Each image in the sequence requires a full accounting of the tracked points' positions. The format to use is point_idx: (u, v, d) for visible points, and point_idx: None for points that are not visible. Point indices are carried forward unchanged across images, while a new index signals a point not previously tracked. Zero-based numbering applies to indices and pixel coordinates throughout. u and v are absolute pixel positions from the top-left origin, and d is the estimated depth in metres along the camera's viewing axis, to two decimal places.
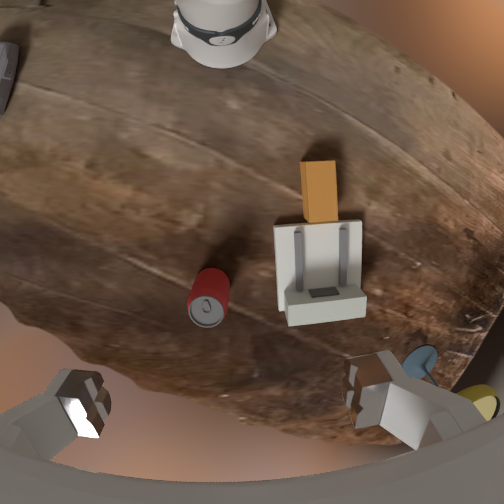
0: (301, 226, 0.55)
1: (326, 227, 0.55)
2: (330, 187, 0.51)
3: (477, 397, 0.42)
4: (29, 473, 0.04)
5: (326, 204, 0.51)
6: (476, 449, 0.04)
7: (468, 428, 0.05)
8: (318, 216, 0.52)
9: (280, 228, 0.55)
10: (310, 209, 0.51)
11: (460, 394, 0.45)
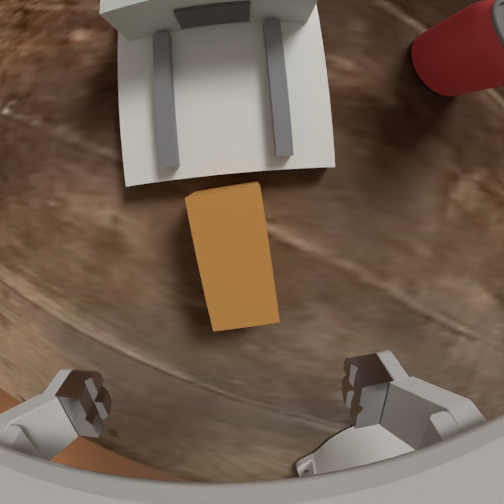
0: (272, 167, 0.23)
1: (210, 166, 0.23)
2: (216, 276, 0.22)
3: None
4: (29, 473, 0.04)
5: (220, 235, 0.21)
6: (476, 449, 0.04)
7: (468, 428, 0.05)
8: (237, 203, 0.21)
9: (321, 164, 0.23)
10: (260, 219, 0.21)
11: None
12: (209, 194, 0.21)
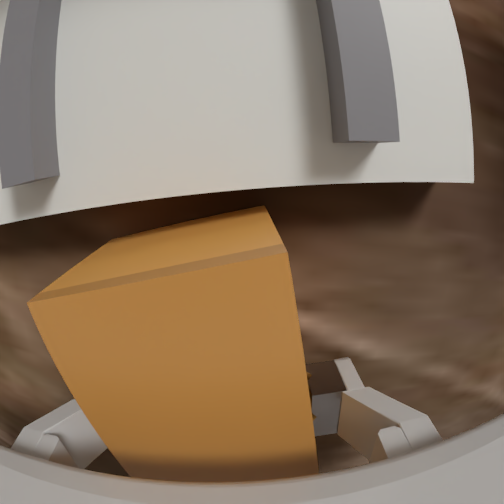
0: (326, 177, 0.07)
1: (136, 173, 0.07)
2: None
3: None
4: (29, 474, 0.04)
5: (159, 414, 0.06)
6: (476, 449, 0.04)
7: (420, 447, 0.05)
8: (197, 323, 0.05)
9: (448, 174, 0.07)
10: (287, 370, 0.05)
11: None
12: (93, 293, 0.05)
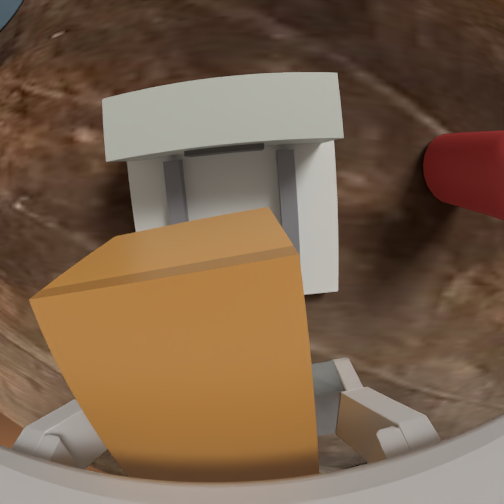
0: None
1: None
2: None
3: None
4: (29, 474, 0.04)
5: (161, 415, 0.06)
6: (476, 449, 0.04)
7: (418, 447, 0.05)
8: (206, 323, 0.05)
9: (326, 290, 0.26)
10: (294, 372, 0.05)
11: None
12: (99, 291, 0.05)
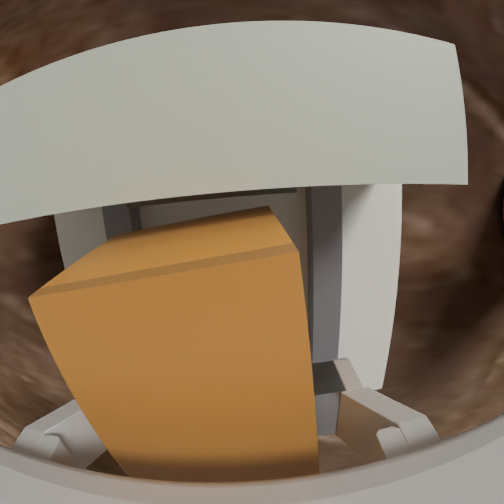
0: None
1: None
2: None
3: None
4: (29, 474, 0.04)
5: (160, 414, 0.06)
6: (476, 449, 0.04)
7: (418, 447, 0.05)
8: (205, 321, 0.05)
9: None
10: (293, 371, 0.05)
11: None
12: (98, 289, 0.05)
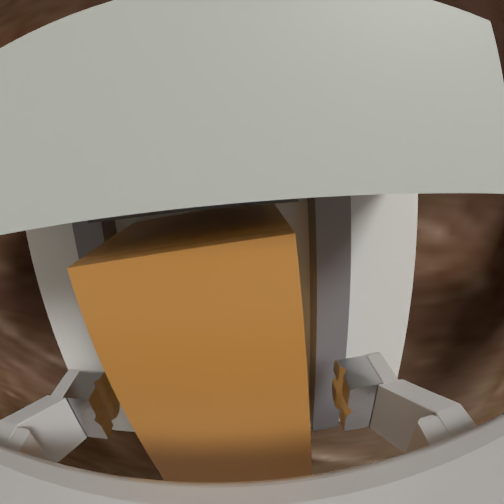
0: None
1: None
2: (175, 443, 0.08)
3: None
4: (29, 473, 0.04)
5: (176, 372, 0.07)
6: (476, 449, 0.04)
7: (457, 433, 0.05)
8: (220, 288, 0.06)
9: None
10: (289, 333, 0.07)
11: None
12: (132, 260, 0.06)
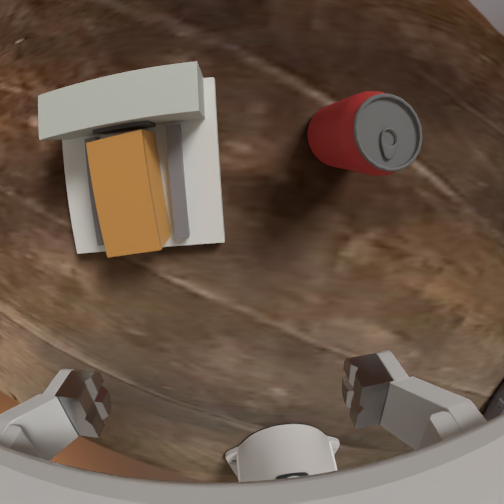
0: (176, 244, 0.31)
1: None
2: (107, 206, 0.24)
3: None
4: (29, 473, 0.04)
5: (111, 172, 0.23)
6: (476, 449, 0.04)
7: (468, 428, 0.05)
8: (123, 144, 0.23)
9: (213, 240, 0.31)
10: (140, 157, 0.23)
11: None
12: (103, 139, 0.23)
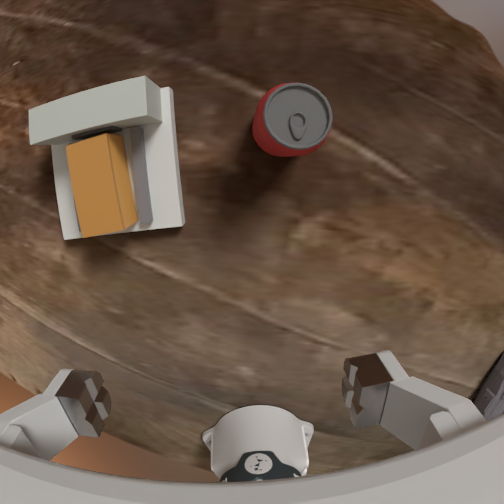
0: (143, 229, 0.35)
1: None
2: (82, 196, 0.29)
3: None
4: (29, 473, 0.04)
5: (84, 168, 0.28)
6: (476, 449, 0.04)
7: (468, 428, 0.05)
8: (93, 145, 0.28)
9: (173, 225, 0.35)
10: (106, 155, 0.28)
11: None
12: (78, 142, 0.28)
